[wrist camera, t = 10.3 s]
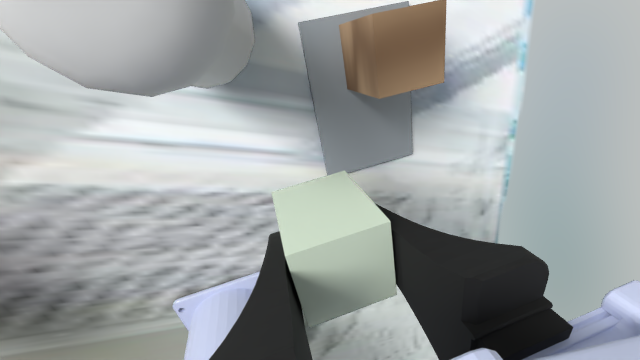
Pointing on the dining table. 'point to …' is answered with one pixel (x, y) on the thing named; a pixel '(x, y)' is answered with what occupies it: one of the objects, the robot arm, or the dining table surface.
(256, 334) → the robot arm
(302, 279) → the sage block
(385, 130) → the slate mat
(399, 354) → the dining table surface
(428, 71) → the walnut block
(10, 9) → the salt shaker
